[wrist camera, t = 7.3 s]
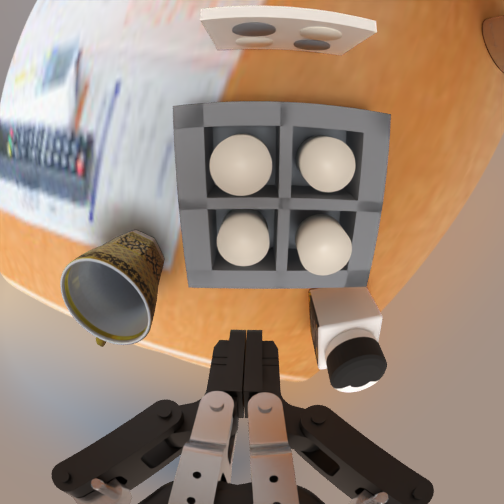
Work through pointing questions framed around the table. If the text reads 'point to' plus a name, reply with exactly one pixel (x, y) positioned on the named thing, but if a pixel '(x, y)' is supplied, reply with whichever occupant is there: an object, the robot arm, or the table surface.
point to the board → (278, 189)
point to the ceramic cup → (115, 288)
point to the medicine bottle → (347, 336)
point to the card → (285, 28)
